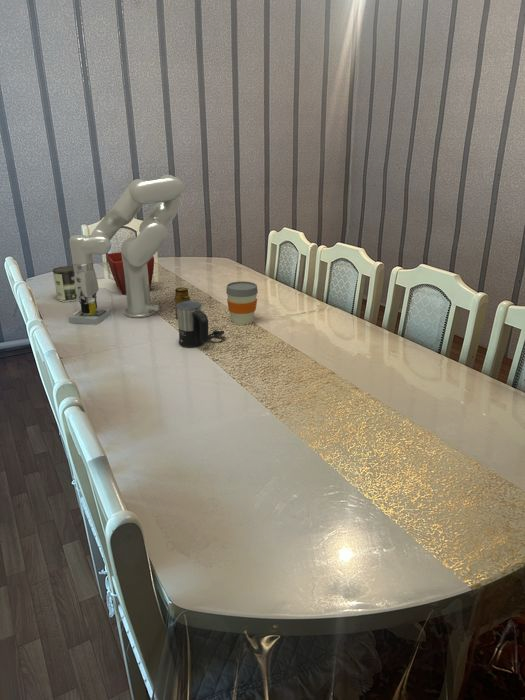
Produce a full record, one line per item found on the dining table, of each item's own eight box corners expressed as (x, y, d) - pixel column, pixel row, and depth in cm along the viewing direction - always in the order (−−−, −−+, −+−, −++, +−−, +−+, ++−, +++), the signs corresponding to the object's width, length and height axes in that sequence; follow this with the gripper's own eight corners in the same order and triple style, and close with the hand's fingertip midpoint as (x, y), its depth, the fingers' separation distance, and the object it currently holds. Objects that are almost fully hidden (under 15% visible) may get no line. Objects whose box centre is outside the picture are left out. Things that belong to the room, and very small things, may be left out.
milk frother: (173, 345, 189) (170, 306, 183) (198, 331, 201) (196, 294, 195) (206, 352, 183) (204, 312, 177) (229, 337, 195) (228, 299, 189)
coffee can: (84, 295, 243) (79, 265, 237) (76, 302, 234) (71, 271, 228) (62, 295, 243) (57, 265, 238) (53, 302, 234) (48, 271, 228)
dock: (110, 315, 218) (109, 307, 217) (96, 325, 207) (95, 317, 206) (84, 313, 220) (83, 305, 219) (69, 323, 209) (68, 315, 208)
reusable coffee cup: (244, 328, 203) (244, 292, 197) (220, 322, 210) (219, 286, 204) (264, 320, 212) (264, 284, 206) (240, 313, 219) (239, 279, 213)
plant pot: (109, 287, 256) (105, 253, 249) (148, 282, 263) (145, 249, 256) (117, 297, 240) (112, 262, 233) (157, 292, 247) (154, 257, 240)
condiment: (186, 312, 221) (184, 285, 216) (197, 317, 215) (195, 290, 210) (171, 316, 217) (169, 288, 212) (181, 321, 211) (179, 293, 206)
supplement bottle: (93, 318, 210) (89, 295, 206) (80, 317, 211) (77, 294, 207) (99, 314, 215) (96, 291, 211) (87, 313, 216) (84, 290, 212)
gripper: (81, 273, 196) (87, 318, 204) (102, 262, 212) (108, 304, 219) (63, 272, 198) (70, 317, 205) (85, 261, 213) (91, 303, 221)
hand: (89, 310), depth 212 cm, fingers closed on supplement bottle, 5 cm apart
